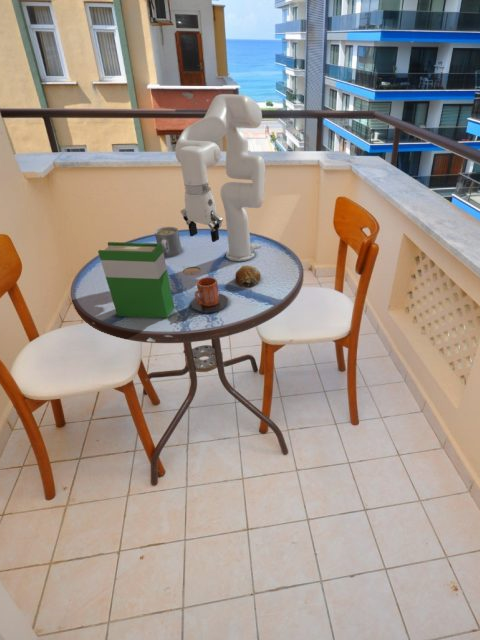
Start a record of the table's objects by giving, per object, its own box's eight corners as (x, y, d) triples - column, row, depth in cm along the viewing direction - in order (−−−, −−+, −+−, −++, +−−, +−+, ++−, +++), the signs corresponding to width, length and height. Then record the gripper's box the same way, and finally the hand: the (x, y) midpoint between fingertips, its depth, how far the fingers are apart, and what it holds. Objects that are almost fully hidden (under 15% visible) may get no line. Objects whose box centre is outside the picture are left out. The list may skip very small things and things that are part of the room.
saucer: (220, 291, 157) (220, 289, 157) (233, 307, 148) (233, 305, 147) (187, 300, 152) (186, 298, 151) (198, 317, 142) (198, 315, 142)
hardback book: (117, 315, 143) (97, 251, 129) (126, 304, 149) (108, 242, 135) (167, 318, 142) (153, 253, 128) (174, 306, 148) (161, 243, 134)
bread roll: (263, 287, 167) (265, 267, 166) (253, 288, 157) (255, 267, 156) (241, 283, 170) (243, 264, 168) (229, 284, 160) (232, 263, 159)
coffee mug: (165, 246, 191) (161, 226, 186) (185, 248, 190) (181, 227, 184) (151, 258, 181) (146, 237, 175) (172, 260, 179) (168, 239, 173)
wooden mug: (208, 295, 153) (205, 275, 148) (223, 299, 150) (220, 280, 146) (190, 306, 146) (186, 287, 141) (205, 312, 143) (202, 291, 139)
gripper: (225, 189, 133) (231, 238, 143) (184, 181, 140) (192, 229, 150) (210, 195, 128) (217, 247, 138) (168, 187, 134) (178, 236, 144)
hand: (204, 237), depth 144 cm, fingers open, 9 cm apart
